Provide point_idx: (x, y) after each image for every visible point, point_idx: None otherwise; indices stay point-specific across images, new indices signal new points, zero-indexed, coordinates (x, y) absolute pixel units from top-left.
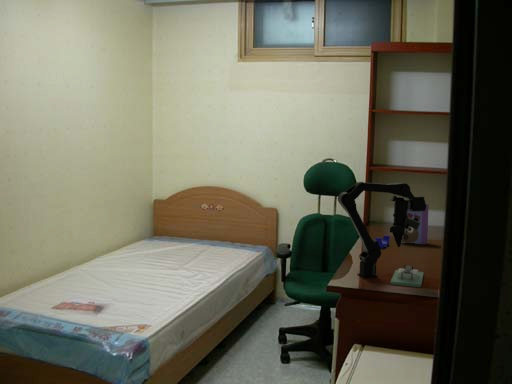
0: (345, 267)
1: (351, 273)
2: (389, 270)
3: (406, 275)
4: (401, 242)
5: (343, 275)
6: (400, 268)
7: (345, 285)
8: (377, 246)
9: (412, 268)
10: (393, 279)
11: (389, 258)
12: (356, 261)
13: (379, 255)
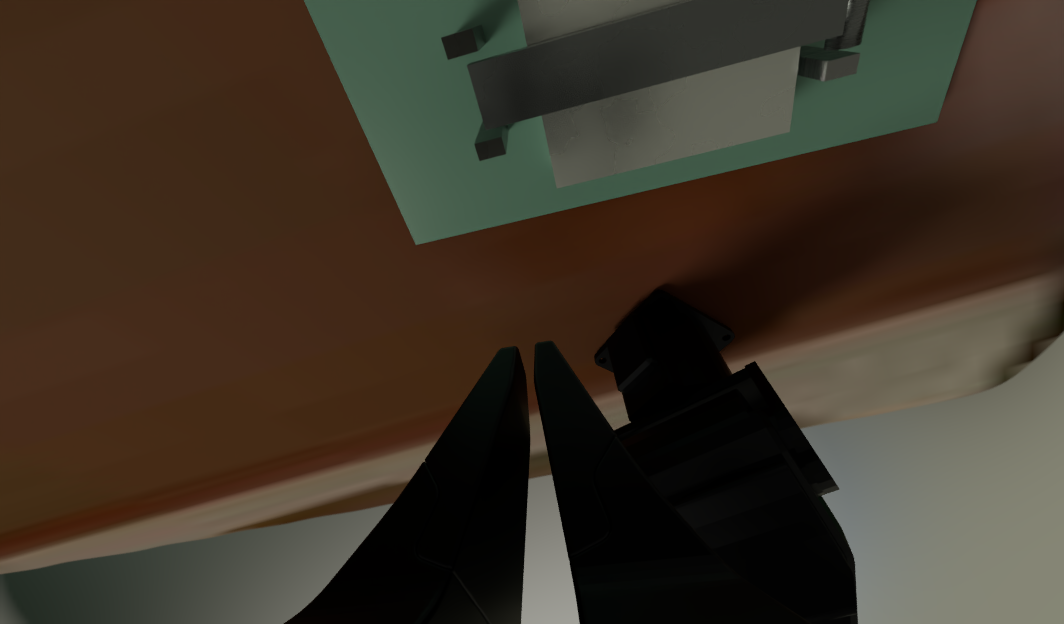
0: None
1: None
2: (389, 292)
3: None
4: (503, 398)
5: None
6: (561, 171)
7: (980, 348)
8: (829, 519)
9: (477, 39)
10: (837, 127)
11: (26, 409)
12: (322, 487)
13: (744, 407)
